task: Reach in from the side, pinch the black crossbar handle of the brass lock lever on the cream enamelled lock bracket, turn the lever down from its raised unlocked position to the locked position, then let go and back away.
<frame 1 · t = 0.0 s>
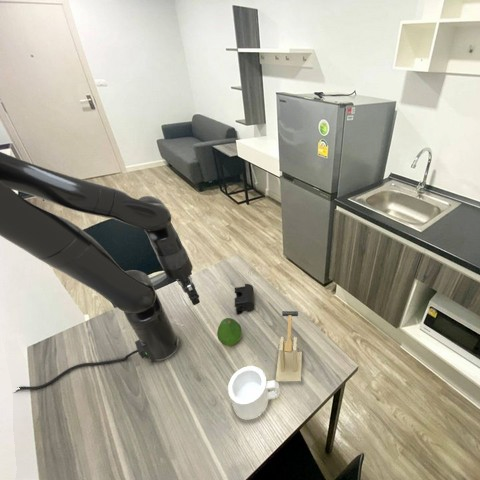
hand: (191, 295, 88), 17 cm above the table, tool pointing down, fingers open, 8 cm apart
avocado: (232, 341, 94), on the table
lock bracket: (289, 367, 87), on the table
mug: (255, 401, 79), on the table
lock lever: (289, 330, 83), point 14 cm above the table, hinge at 24.0°
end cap: (246, 304, 108), on the table
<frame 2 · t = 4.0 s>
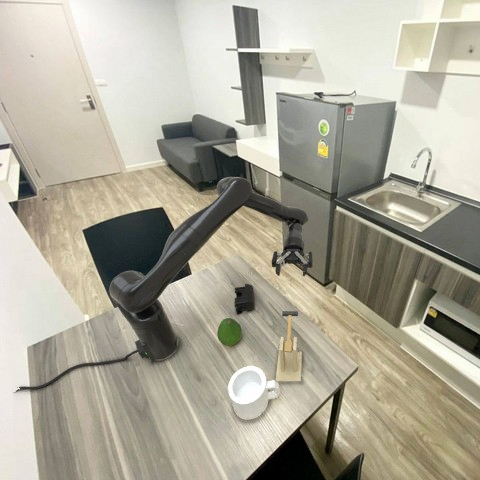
hand: (291, 274, 88), 24 cm above the table, tool horizontal, fingers open, 8 cm apart
nothing on the table moved.
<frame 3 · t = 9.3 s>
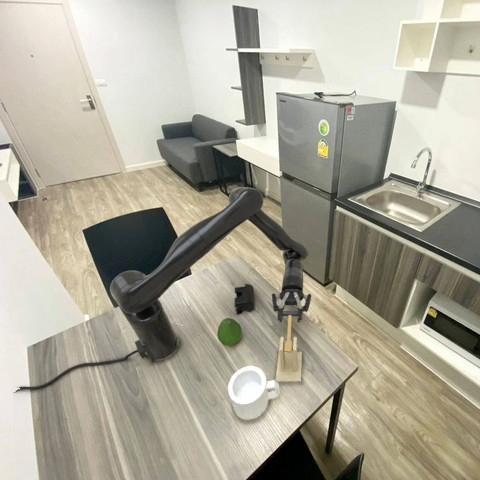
hand: (289, 320, 83), 16 cm above the table, tool horizontal, fingers closed on lock lever, 5 cm apart
lock lever: (289, 330, 83), point 14 cm above the table, hinge at 24.0°, touching gripper
everything else where it was.
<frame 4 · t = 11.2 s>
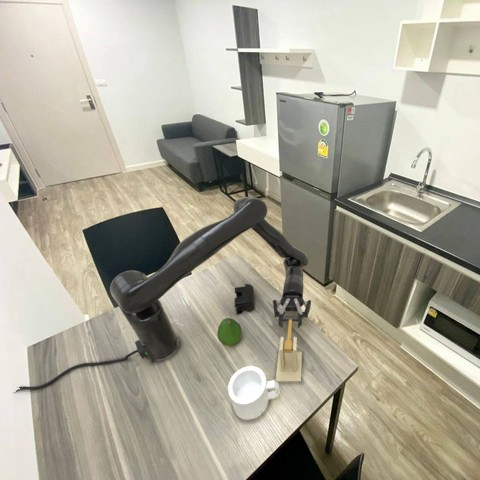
hand: (290, 325, 86), 12 cm above the table, tool horizontal, fingers closed on lock lever, 5 cm apart
lock lever: (289, 332, 84), point 12 cm above the table, hinge at 2.2°, touching gripper
everything else where it was.
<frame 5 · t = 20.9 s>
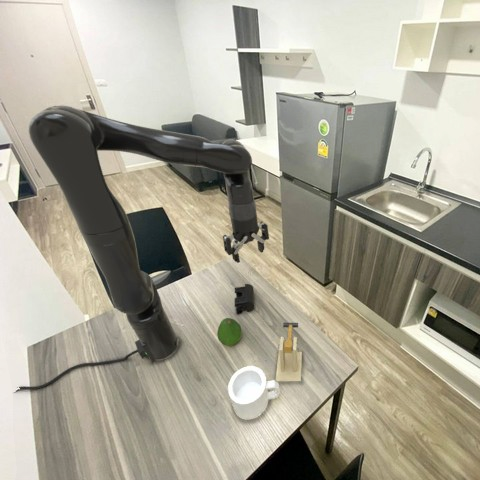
hand: (249, 256, 86), 30 cm above the table, tool pointing down, fingers open, 8 cm apart
lock lever: (289, 335, 85), point 11 cm above the table, hinge at -14.8°
everything else where it was.
at the end: lock lever at -15° (first picture: +24°); the gripper is holding nothing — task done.
